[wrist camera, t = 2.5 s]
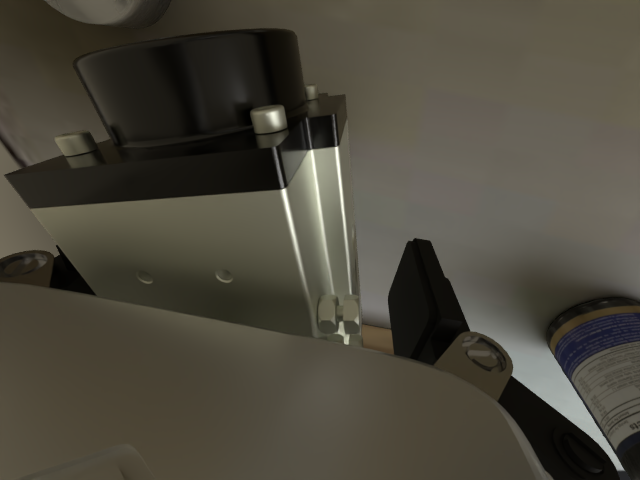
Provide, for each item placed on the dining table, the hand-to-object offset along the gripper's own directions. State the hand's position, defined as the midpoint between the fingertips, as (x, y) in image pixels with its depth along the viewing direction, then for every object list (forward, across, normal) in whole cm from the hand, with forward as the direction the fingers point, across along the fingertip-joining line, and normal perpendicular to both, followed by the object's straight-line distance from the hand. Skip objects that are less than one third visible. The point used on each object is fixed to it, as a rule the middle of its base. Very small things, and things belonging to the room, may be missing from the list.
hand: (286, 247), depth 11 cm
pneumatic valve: (+6, 0, -1) cm, 6 cm away
